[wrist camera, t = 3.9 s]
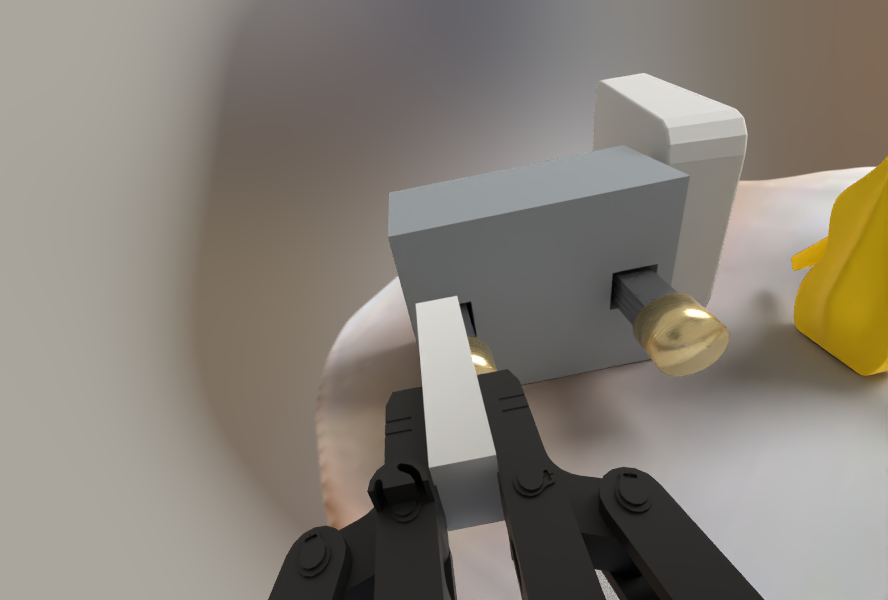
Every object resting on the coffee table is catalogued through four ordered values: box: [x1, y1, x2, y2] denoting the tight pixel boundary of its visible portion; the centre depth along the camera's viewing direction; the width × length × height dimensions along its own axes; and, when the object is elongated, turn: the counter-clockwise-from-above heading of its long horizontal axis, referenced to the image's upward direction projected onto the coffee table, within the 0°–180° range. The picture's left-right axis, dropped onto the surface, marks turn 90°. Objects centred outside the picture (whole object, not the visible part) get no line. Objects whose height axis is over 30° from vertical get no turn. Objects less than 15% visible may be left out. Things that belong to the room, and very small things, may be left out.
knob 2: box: [611, 266, 729, 376], centre depth 28 cm, size 4×9×4 cm, turn 6°
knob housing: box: [388, 145, 690, 385], centre depth 34 cm, size 20×9×16 cm, turn 96°
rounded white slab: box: [593, 73, 747, 307], centre depth 45 cm, size 29×8×18 cm, turn 173°
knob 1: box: [459, 303, 497, 375], centre depth 28 cm, size 4×9×4 cm, turn 6°
